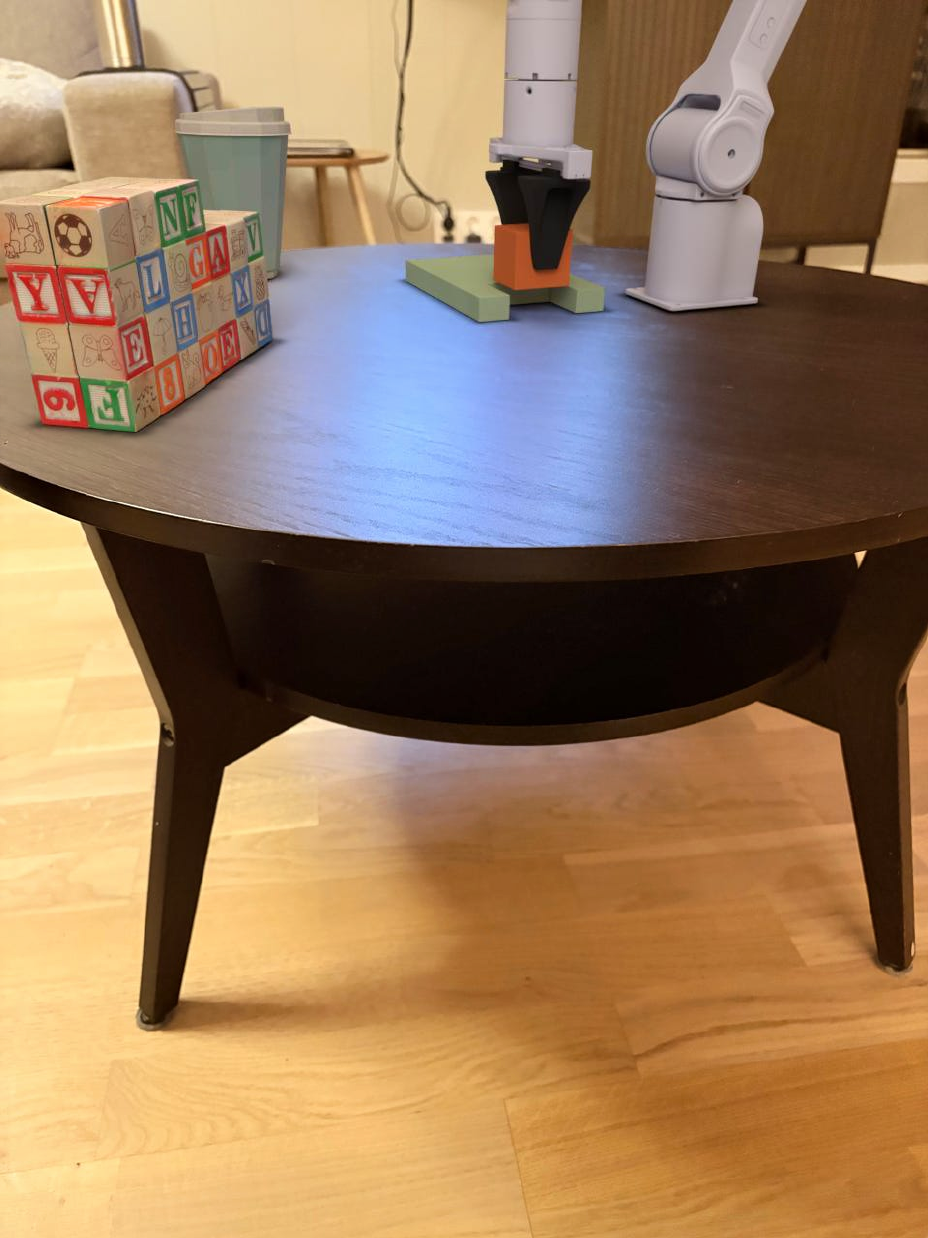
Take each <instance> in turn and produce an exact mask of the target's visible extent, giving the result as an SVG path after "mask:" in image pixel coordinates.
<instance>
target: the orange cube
mask: <svg viewBox="0 0 928 1238" xmlns="http://www.w3.org/2000/svg"><path fill="white" fill-rule="evenodd" d="M493 235H494V238H493V254H494V269H493V280H494V281H496V282H498V283H500V284H503V285H505V286H507V287H509V288H511V289H513V290H524V289H537V288H550V287H562V286H569V280H570V274H571V265H572V263H571V262H572V249H573V235H574V230H573V229H571V228H570V229H569V232H568V235H567V239H566V242H565V246H564V249H563V253H562V256H561V259H560V263H559V266H558V268H557V269H548V270H535V269H533V265H532V260H531V253H530V233H529V223H528V224H509V225H501V224H495V225H494V234H493Z"/></svg>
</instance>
